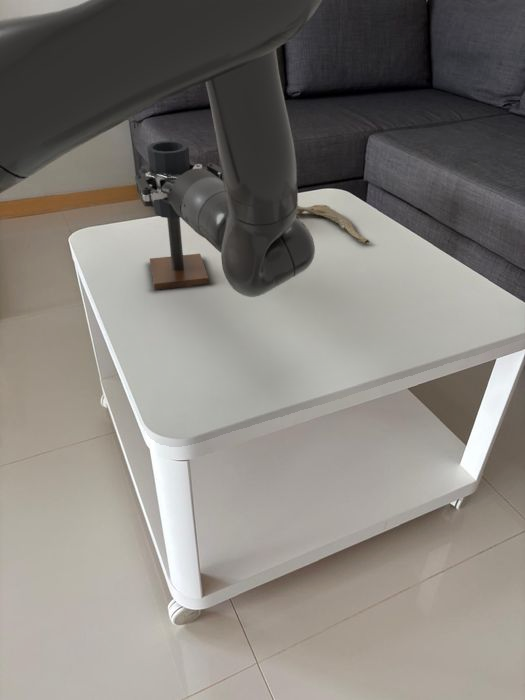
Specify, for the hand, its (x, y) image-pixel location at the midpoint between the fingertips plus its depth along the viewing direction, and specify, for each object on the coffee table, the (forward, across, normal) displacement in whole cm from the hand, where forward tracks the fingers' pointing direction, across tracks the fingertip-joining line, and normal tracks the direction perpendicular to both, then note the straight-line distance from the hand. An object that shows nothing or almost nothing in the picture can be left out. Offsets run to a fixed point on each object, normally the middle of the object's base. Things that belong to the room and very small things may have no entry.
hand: (164, 168), depth 85 cm
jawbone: (+2, -33, +18) cm, 37 cm away
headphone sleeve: (-2, 0, +6) cm, 6 cm away
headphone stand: (-2, 0, +18) cm, 18 cm away
